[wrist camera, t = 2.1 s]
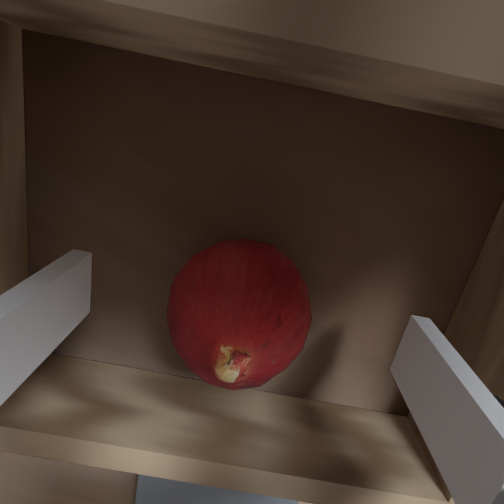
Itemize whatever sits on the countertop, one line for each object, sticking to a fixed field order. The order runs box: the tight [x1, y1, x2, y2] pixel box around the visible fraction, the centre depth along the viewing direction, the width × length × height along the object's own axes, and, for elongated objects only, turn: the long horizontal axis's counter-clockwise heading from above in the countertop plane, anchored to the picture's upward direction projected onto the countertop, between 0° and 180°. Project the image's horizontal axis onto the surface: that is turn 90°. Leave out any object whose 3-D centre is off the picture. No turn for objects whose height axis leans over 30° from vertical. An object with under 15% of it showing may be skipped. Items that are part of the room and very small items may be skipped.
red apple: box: [167, 238, 312, 390], centre depth 14 cm, size 6×6×8 cm
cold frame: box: [0, 0, 504, 504], centre depth 14 cm, size 25×19×8 cm
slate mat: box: [135, 474, 298, 504], centre depth 23 cm, size 10×10×1 cm
